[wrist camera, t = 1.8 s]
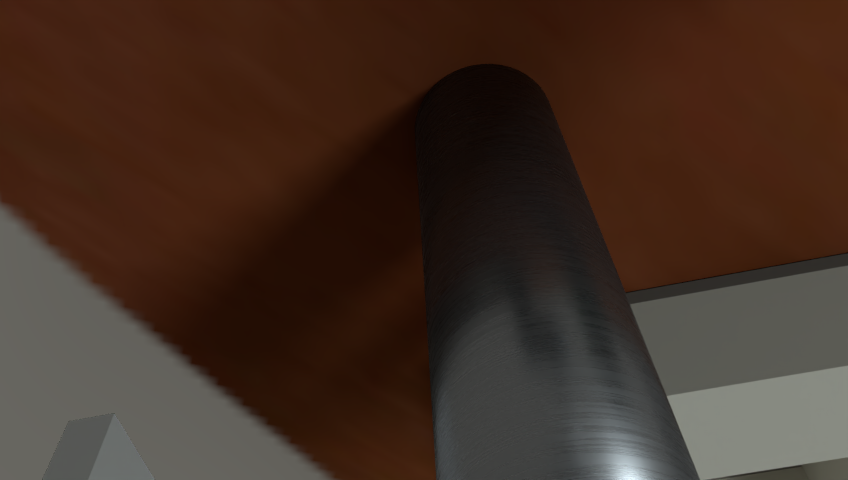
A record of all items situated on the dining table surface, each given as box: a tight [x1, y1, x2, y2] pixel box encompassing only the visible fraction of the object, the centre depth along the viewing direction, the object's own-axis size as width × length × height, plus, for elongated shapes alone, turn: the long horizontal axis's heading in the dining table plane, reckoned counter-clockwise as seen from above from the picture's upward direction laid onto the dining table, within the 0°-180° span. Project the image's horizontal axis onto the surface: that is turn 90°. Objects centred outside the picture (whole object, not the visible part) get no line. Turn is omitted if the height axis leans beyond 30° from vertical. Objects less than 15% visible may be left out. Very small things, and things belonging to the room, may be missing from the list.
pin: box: [415, 64, 700, 480], centre depth 14 cm, size 3×3×12 cm
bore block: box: [626, 253, 848, 480], centre depth 24 cm, size 12×12×4 cm
